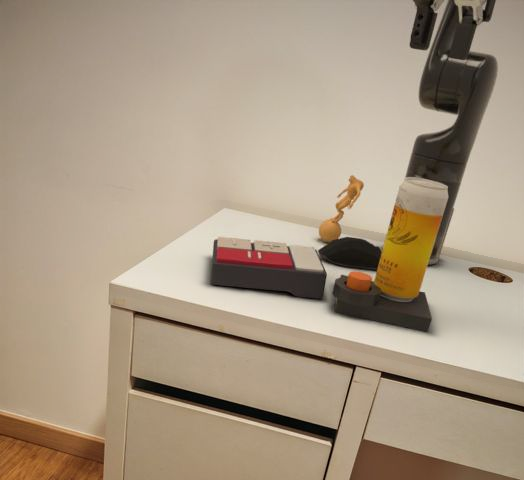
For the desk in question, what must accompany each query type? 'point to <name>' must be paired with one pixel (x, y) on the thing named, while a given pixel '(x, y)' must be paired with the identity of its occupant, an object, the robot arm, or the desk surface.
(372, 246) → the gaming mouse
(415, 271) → the beer can
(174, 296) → the desk surface
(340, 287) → the black orange button box
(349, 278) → the button
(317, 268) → the red grey electronic device
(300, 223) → the desk surface
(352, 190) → the figurine
